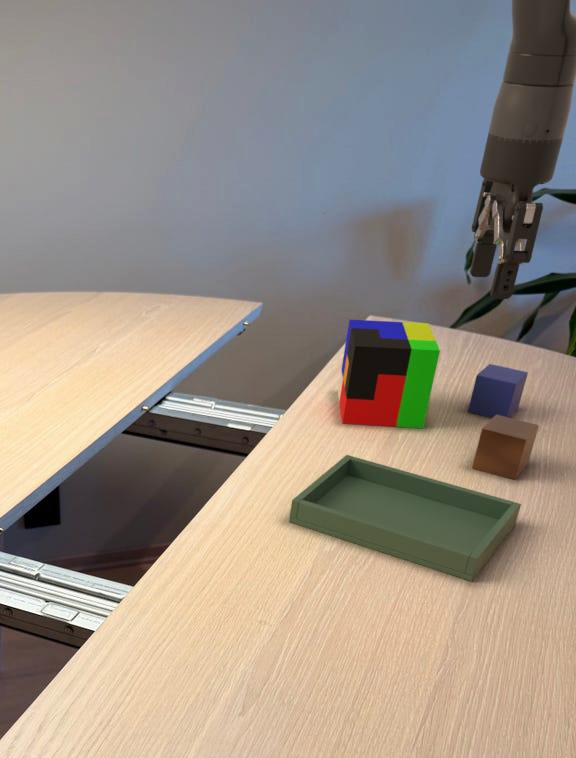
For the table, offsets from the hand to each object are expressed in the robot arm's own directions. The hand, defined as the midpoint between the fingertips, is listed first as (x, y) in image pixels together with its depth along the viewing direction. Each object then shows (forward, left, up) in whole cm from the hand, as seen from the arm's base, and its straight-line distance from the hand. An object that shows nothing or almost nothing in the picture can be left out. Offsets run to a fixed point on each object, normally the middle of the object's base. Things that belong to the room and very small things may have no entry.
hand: (489, 286), depth 114 cm
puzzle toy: (+10, +1, -18) cm, 20 cm away
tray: (-4, +28, -18) cm, 33 cm away
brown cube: (-8, +8, -18) cm, 21 cm away
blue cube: (-2, -8, -18) cm, 19 cm away
